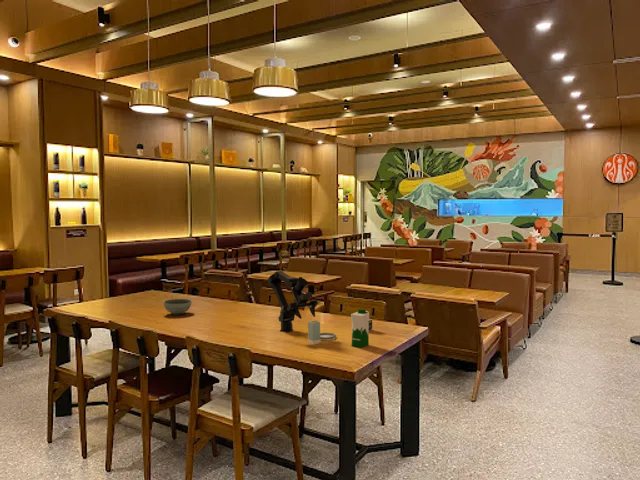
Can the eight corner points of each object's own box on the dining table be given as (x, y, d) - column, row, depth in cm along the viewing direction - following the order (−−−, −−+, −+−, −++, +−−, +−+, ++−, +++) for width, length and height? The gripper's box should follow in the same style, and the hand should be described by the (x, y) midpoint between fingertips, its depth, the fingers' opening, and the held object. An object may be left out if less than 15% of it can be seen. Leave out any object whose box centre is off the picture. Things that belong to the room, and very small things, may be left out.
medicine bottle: (363, 332, 302) (363, 313, 301) (356, 330, 308) (356, 311, 307) (372, 330, 306) (372, 311, 306) (364, 328, 312) (364, 309, 311)
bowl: (169, 311, 374) (168, 298, 373) (196, 311, 373) (195, 298, 373) (159, 317, 353) (158, 303, 353) (187, 316, 352) (187, 303, 352)
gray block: (308, 342, 280) (308, 321, 279) (315, 341, 282) (315, 320, 282) (312, 344, 275) (312, 323, 275) (320, 343, 278) (320, 322, 277)
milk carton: (370, 344, 273) (370, 309, 272) (363, 348, 266) (362, 312, 265) (357, 342, 278) (356, 307, 277) (349, 346, 271) (348, 310, 270)
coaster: (311, 338, 287) (311, 336, 287) (320, 334, 298) (320, 331, 298) (330, 341, 282) (330, 338, 282) (339, 336, 293) (339, 333, 293)
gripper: (289, 289, 283) (299, 311, 275) (316, 286, 293) (326, 308, 285) (283, 300, 291) (292, 322, 282) (309, 297, 301) (319, 318, 292)
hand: (307, 317), depth 285 cm, fingers open, 9 cm apart
